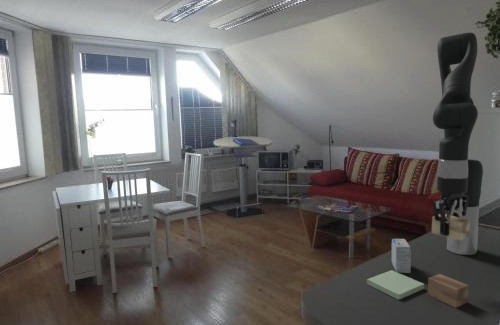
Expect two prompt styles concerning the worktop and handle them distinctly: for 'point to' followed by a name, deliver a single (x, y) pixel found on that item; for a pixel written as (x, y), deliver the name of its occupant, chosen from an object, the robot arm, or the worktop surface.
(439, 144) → the robot arm
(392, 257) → the medicine box
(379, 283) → the baseplate
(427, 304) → the worktop surface
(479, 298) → the worktop surface
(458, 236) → the birch brick
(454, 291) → the walnut brick
